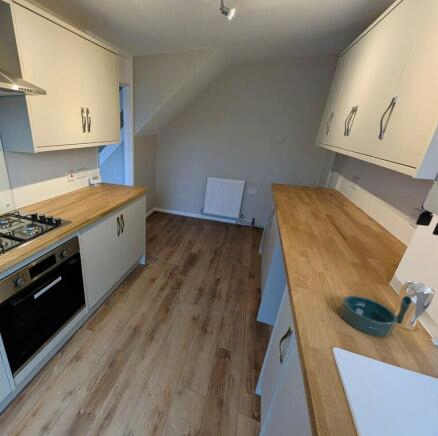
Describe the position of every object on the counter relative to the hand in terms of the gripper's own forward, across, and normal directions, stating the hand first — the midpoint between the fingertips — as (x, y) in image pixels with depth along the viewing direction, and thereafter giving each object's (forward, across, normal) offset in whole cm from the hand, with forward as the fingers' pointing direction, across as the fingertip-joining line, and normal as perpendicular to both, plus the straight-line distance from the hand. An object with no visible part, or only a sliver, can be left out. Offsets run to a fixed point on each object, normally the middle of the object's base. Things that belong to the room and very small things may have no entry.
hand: (430, 229), depth 80 cm
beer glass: (+32, -11, +2) cm, 33 cm away
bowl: (+31, -16, +14) cm, 38 cm away
